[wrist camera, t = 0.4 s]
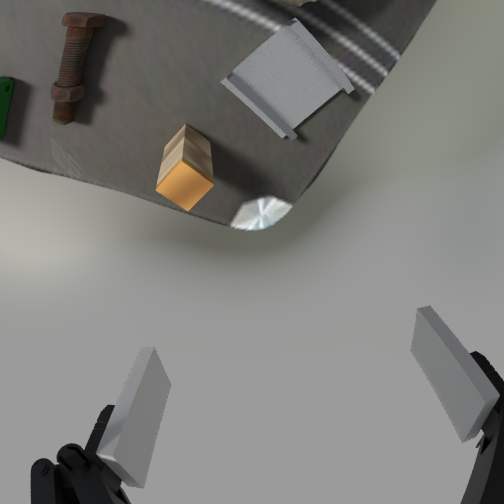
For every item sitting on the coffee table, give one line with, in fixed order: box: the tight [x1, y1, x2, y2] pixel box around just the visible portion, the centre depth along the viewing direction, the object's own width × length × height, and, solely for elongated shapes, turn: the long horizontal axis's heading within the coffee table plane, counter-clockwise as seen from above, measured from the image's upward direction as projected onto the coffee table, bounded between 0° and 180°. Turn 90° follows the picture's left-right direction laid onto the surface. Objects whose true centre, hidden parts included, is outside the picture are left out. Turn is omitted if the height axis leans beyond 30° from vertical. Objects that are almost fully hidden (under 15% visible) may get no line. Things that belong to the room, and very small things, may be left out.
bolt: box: [51, 12, 106, 125], centre depth 27 cm, size 6×5×15 cm
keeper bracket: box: [220, 18, 354, 141], centre depth 34 cm, size 12×13×4 cm
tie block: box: [156, 124, 214, 211], centre depth 36 cm, size 4×4×12 cm
